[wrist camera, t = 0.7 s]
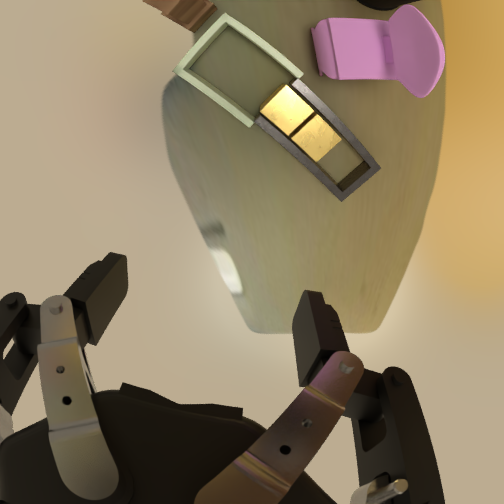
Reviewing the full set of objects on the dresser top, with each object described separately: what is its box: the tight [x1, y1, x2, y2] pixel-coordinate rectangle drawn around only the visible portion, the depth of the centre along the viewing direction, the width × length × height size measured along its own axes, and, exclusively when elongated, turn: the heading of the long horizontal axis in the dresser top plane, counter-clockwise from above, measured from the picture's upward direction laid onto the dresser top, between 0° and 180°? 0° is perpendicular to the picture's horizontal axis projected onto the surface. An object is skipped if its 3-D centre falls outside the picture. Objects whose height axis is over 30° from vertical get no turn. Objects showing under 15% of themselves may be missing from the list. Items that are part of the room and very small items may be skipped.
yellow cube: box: [260, 83, 314, 135], centre depth 27 cm, size 4×4×4 cm
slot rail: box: [254, 78, 381, 202], centre depth 30 cm, size 15×7×2 cm, turn 49°
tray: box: [173, 13, 304, 128], centre depth 24 cm, size 11×9×3 cm
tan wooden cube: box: [290, 112, 342, 162], centre depth 29 cm, size 4×4×4 cm
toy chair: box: [311, 4, 445, 98], centre depth 18 cm, size 8×9×15 cm
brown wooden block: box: [143, 0, 217, 33], centre depth 17 cm, size 4×4×10 cm
